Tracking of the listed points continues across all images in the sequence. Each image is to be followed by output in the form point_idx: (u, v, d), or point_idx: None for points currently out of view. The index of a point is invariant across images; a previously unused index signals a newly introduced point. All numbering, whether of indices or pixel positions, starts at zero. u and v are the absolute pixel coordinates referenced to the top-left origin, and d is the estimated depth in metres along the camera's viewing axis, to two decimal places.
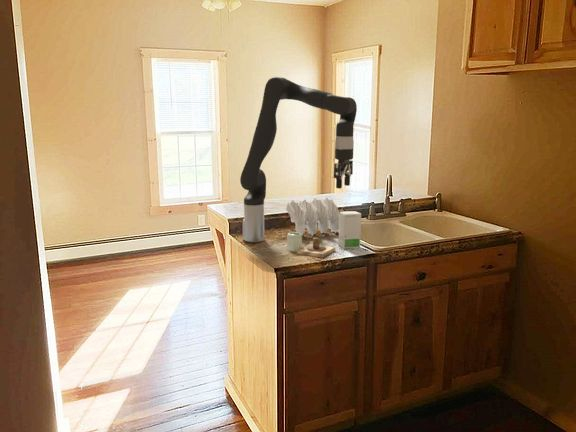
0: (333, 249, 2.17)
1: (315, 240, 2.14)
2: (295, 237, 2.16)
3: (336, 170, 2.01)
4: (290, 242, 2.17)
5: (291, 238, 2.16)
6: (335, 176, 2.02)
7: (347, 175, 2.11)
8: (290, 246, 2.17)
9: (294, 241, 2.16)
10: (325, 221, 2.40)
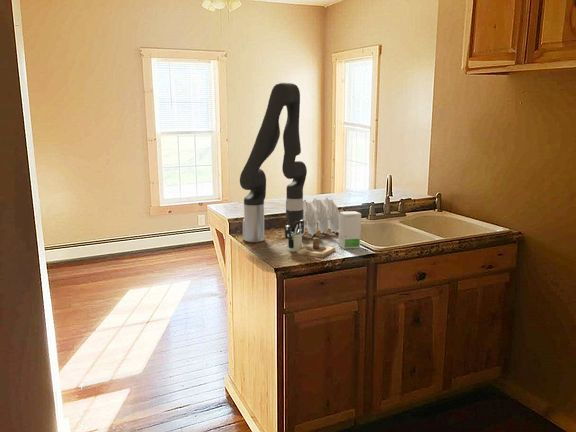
0: (333, 249, 2.17)
1: (315, 240, 2.14)
2: (295, 237, 2.16)
3: (287, 232, 2.13)
4: None
5: None
6: (286, 237, 2.14)
7: None
8: None
9: (294, 241, 2.16)
10: (325, 221, 2.40)
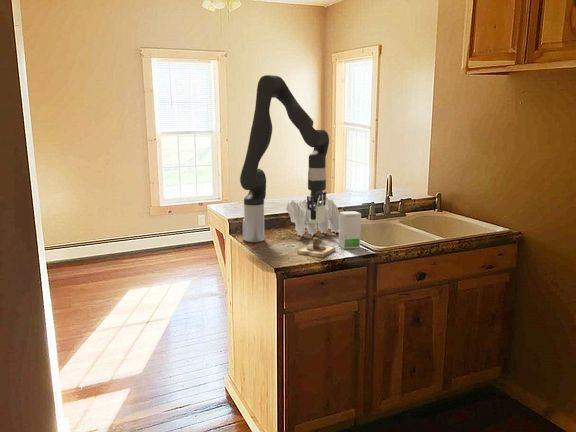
0: (333, 249, 2.17)
1: (315, 240, 2.14)
2: (318, 209, 2.09)
3: (309, 203, 2.06)
4: None
5: None
6: (309, 208, 2.07)
7: None
8: None
9: (316, 212, 2.09)
10: (325, 221, 2.40)
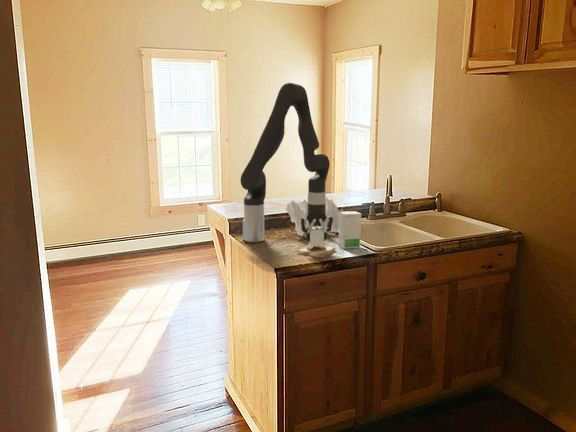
0: (333, 249, 2.17)
1: None
2: (311, 232, 2.12)
3: (301, 224, 2.12)
4: None
5: None
6: (302, 229, 2.13)
7: None
8: None
9: (310, 235, 2.13)
10: (325, 221, 2.40)
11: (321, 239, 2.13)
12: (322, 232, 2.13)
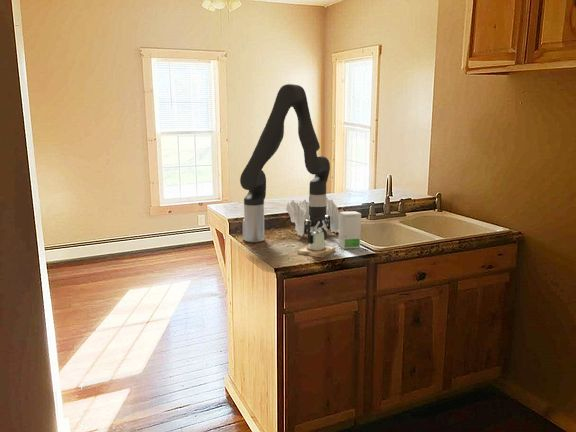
0: (333, 249, 2.17)
1: None
2: None
3: (306, 227, 2.10)
4: None
5: None
6: (305, 232, 2.10)
7: (324, 230, 2.18)
8: (309, 243, 2.15)
9: None
10: None
11: (321, 243, 2.13)
12: (322, 236, 2.13)
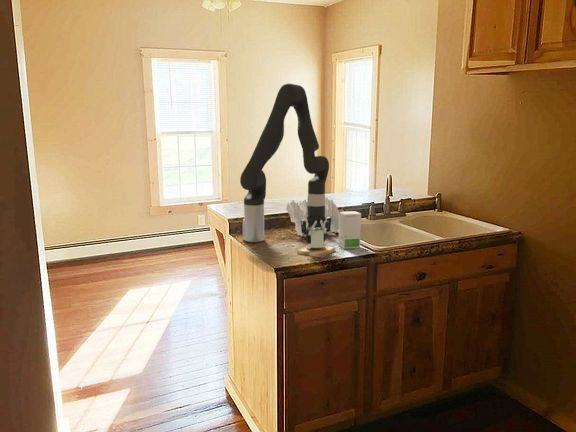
0: (333, 249, 2.17)
1: None
2: None
3: (302, 227, 2.11)
4: None
5: None
6: (302, 232, 2.12)
7: None
8: None
9: None
10: None
11: (317, 241, 2.12)
12: (319, 234, 2.11)
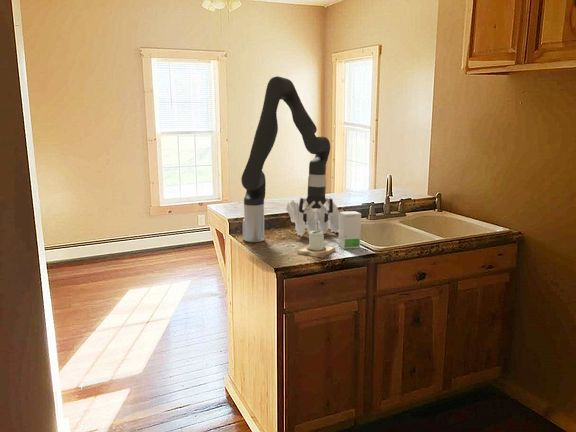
0: (333, 249, 2.17)
1: None
2: (309, 234, 2.15)
3: (299, 204, 2.14)
4: None
5: None
6: None
7: (325, 212, 2.15)
8: None
9: None
10: None
11: (315, 243, 2.12)
12: (317, 236, 2.12)
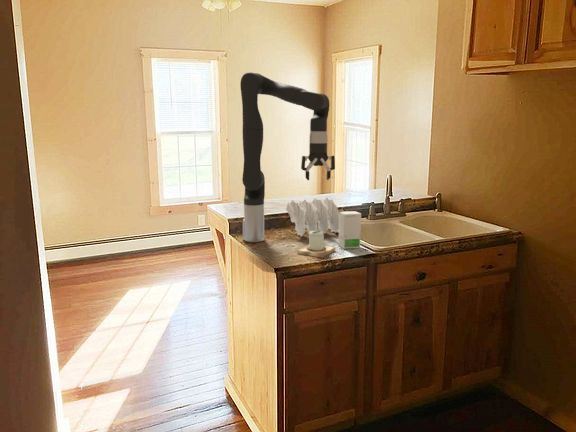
0: (333, 249, 2.17)
1: None
2: (309, 234, 2.15)
3: None
4: None
5: None
6: (301, 168, 2.16)
7: None
8: None
9: None
10: (325, 221, 2.40)
11: (315, 243, 2.12)
12: (317, 236, 2.12)
